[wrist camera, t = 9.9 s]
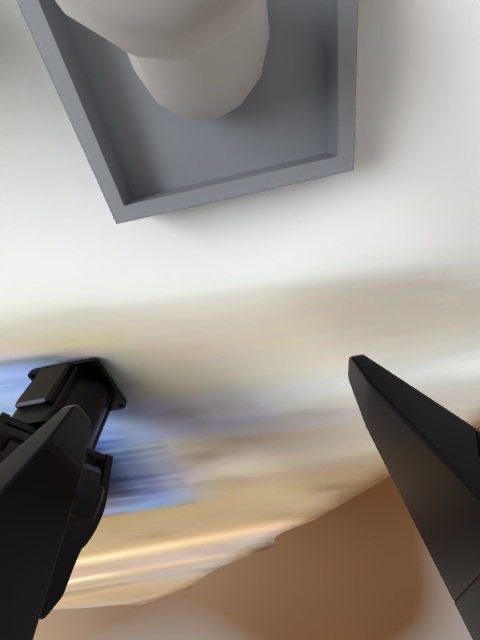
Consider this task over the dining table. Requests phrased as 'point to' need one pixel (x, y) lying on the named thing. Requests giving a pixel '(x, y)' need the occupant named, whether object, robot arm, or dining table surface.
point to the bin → (204, 135)
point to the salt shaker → (185, 47)
